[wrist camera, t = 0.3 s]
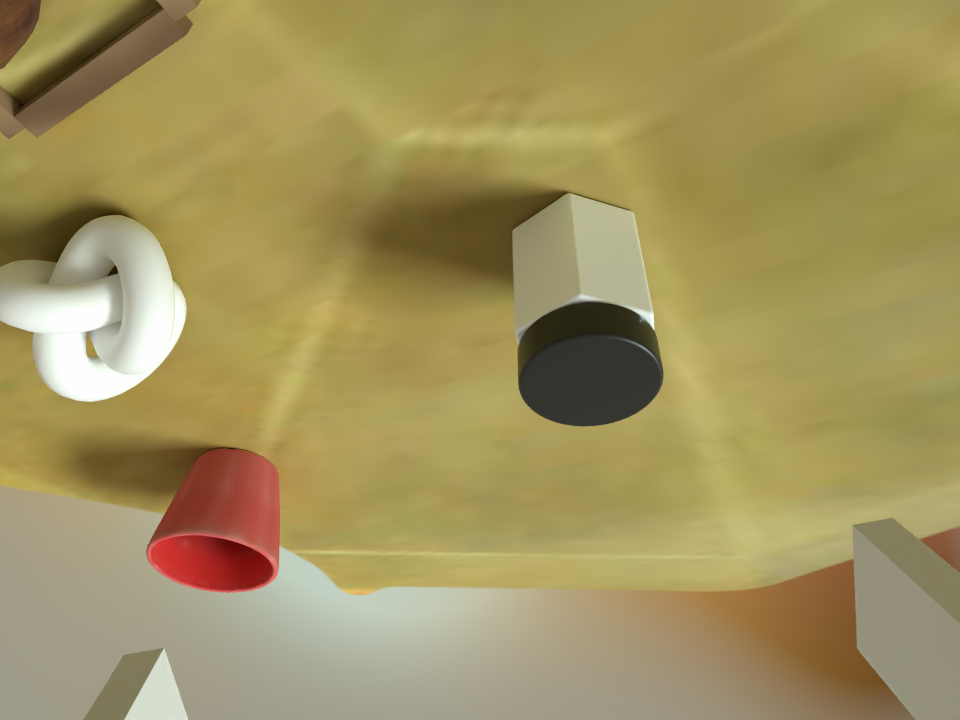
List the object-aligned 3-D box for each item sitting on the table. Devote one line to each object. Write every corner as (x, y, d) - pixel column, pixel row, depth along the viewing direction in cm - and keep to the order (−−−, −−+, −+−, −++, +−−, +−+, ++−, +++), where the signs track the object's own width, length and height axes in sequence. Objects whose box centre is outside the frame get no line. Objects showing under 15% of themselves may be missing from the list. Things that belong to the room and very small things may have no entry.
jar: (491, 273, 52) (490, 410, 44) (535, 179, 47) (543, 318, 39) (609, 304, 54) (628, 440, 47) (665, 217, 49) (698, 357, 41)
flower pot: (218, 421, 66) (188, 521, 59) (319, 473, 72) (301, 569, 65) (155, 466, 71) (121, 562, 65) (253, 512, 77) (231, 604, 71)
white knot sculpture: (99, 155, 46) (40, 252, 40) (252, 276, 53) (221, 374, 47) (1, 240, 51) (-65, 337, 45) (152, 340, 58) (112, 436, 52)
